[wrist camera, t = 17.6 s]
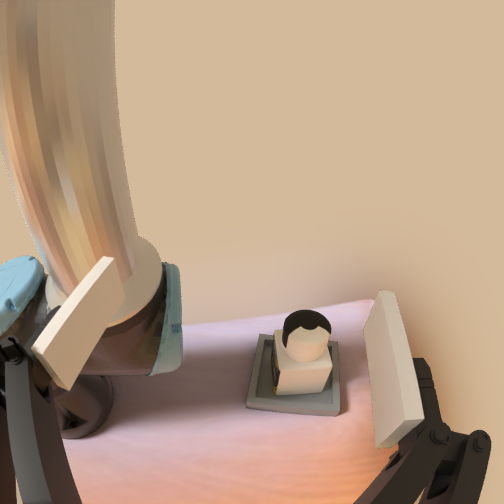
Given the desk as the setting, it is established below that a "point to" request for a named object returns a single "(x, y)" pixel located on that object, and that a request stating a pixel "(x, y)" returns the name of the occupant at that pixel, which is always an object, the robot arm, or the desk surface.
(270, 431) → the desk surface
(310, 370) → the medicine bottle
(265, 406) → the bottle tray
